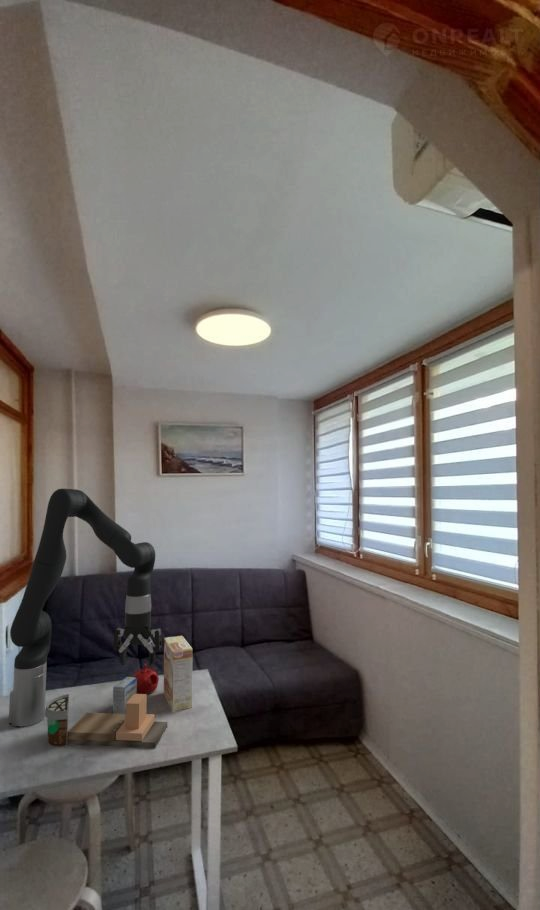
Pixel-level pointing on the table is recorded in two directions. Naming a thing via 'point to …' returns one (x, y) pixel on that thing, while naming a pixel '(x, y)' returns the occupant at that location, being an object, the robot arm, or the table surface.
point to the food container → (57, 720)
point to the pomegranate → (146, 680)
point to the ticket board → (127, 743)
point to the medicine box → (123, 694)
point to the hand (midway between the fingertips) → (137, 664)
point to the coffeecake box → (178, 673)
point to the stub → (135, 719)
